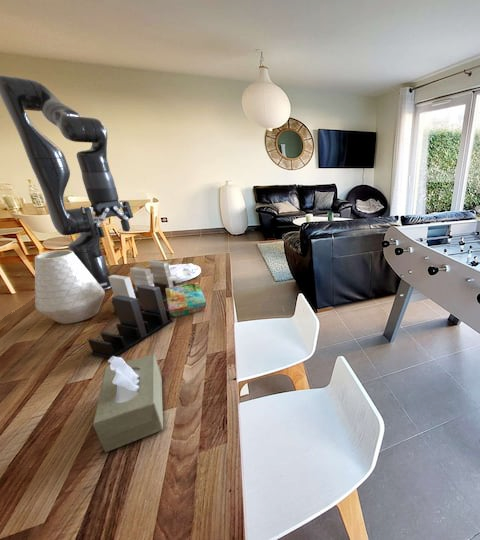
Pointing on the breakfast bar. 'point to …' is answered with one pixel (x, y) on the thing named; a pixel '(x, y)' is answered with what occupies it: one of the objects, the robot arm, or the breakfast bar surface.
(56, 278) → the vase
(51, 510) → the breakfast bar surface
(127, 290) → the white book
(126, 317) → the grey rack
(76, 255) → the robot arm
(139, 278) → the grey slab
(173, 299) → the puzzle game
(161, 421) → the tissue box
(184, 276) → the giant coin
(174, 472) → the breakfast bar surface
